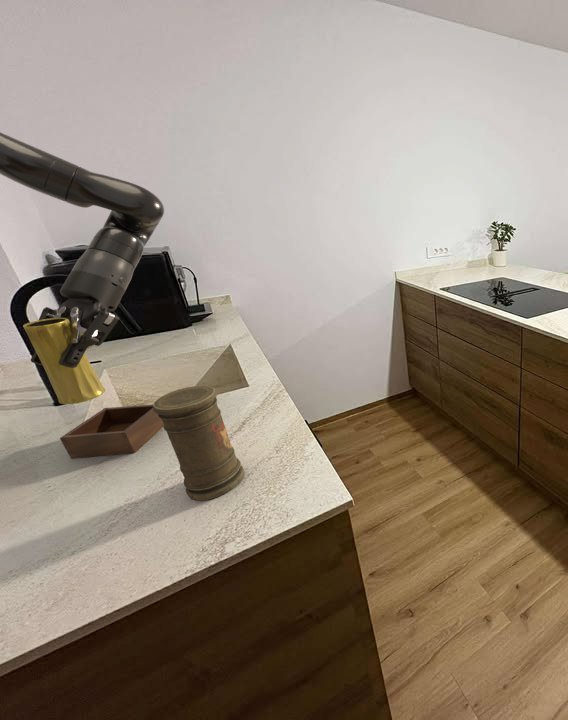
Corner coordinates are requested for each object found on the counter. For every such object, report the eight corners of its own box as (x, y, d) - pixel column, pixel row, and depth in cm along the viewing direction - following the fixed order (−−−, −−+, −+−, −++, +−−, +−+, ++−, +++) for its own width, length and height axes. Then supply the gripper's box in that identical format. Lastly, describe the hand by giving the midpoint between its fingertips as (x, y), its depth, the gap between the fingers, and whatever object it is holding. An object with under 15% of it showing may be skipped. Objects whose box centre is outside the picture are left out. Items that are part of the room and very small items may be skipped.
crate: (70, 458, 75) (59, 438, 73) (113, 426, 86) (104, 407, 84) (134, 452, 77) (125, 432, 75) (169, 422, 87) (161, 403, 85)
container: (203, 507, 63) (166, 416, 56) (176, 489, 67) (139, 401, 60) (255, 476, 70) (228, 391, 63) (228, 461, 74) (200, 379, 67)
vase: (98, 400, 67) (61, 324, 61) (52, 408, 65) (9, 330, 59) (111, 386, 72) (78, 314, 66) (68, 393, 70) (30, 319, 64)
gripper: (44, 267, 67) (-10, 354, 61) (110, 269, 65) (60, 359, 59) (90, 290, 74) (45, 369, 68) (151, 292, 72) (110, 375, 66)
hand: (53, 364), depth 64 cm, fingers closed on vase, 5 cm apart
